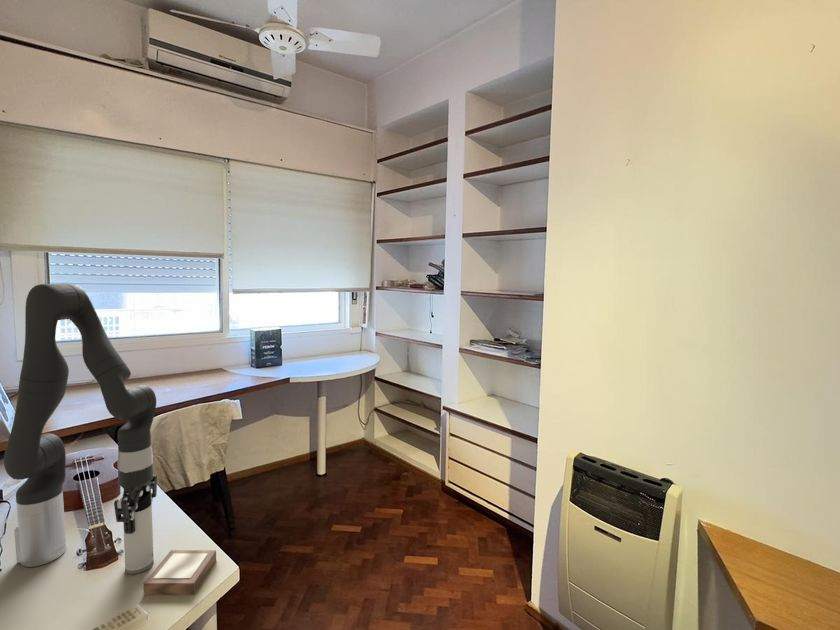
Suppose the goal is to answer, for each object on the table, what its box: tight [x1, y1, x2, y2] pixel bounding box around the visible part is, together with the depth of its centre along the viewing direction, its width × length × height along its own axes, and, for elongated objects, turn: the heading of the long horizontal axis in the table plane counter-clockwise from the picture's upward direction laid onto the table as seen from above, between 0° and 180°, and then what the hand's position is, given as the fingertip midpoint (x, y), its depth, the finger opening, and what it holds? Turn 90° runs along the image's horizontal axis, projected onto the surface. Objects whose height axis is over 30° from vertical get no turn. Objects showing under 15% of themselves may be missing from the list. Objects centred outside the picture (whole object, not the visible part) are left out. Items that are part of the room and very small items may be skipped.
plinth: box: [142, 549, 217, 596], centre depth 107 cm, size 12×12×3 cm
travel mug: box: [122, 489, 154, 575], centre depth 110 cm, size 6×7×20 cm
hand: (138, 524), depth 109 cm, fingers closed on travel mug, 6 cm apart
